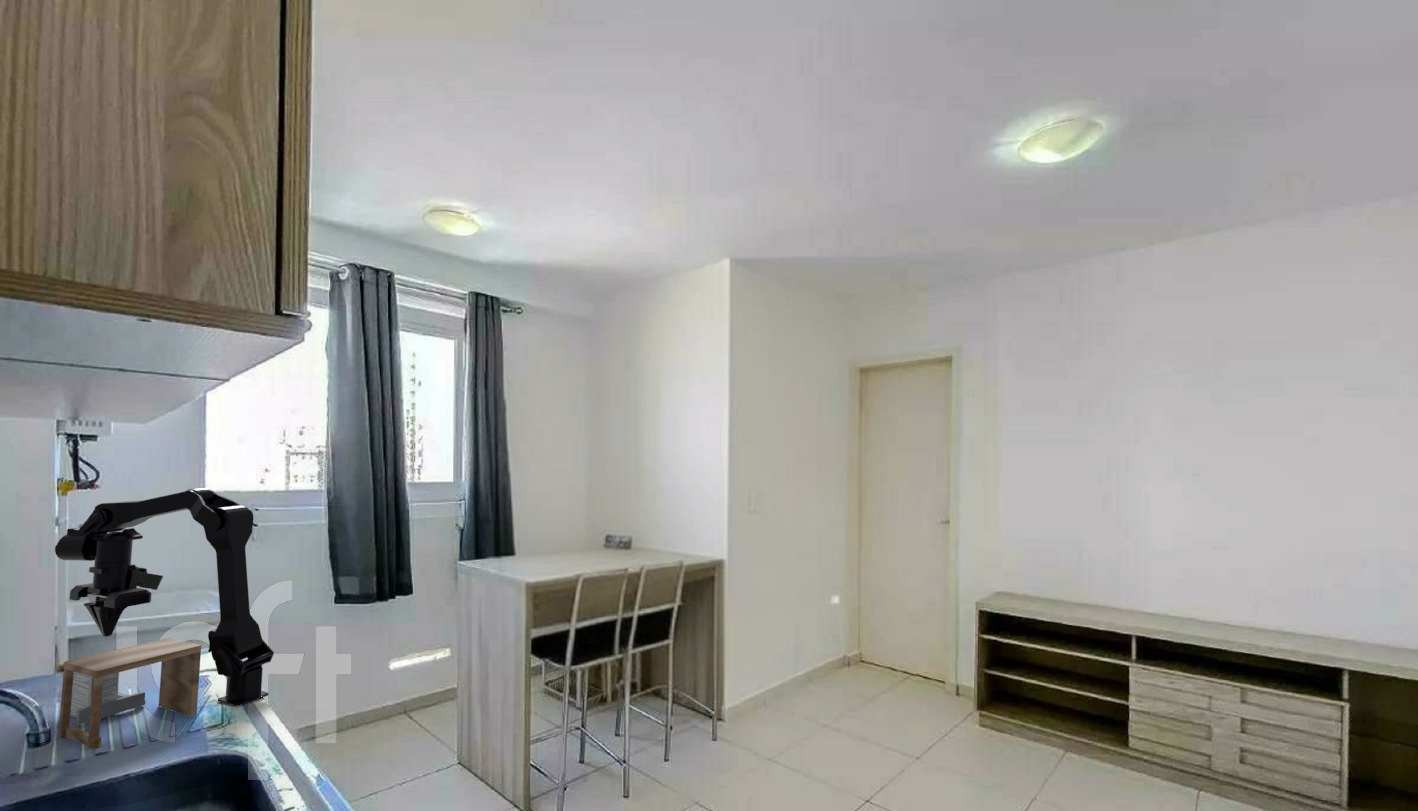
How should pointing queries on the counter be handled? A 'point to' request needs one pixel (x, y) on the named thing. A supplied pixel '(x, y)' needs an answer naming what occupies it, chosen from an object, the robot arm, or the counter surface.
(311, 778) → the counter surface
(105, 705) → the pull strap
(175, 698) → the walnut shelf
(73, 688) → the medicine box
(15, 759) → the counter surface
